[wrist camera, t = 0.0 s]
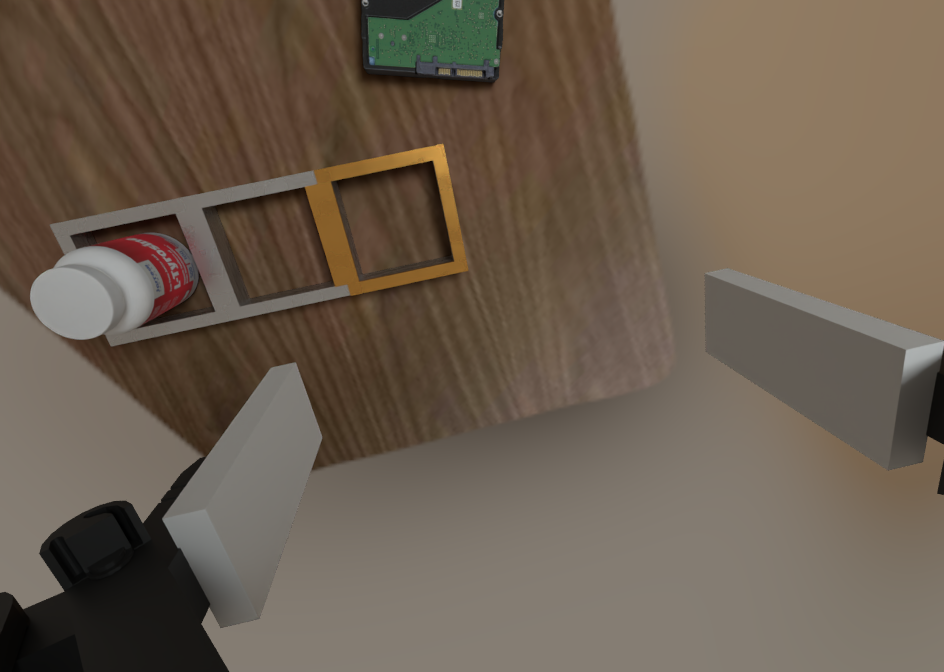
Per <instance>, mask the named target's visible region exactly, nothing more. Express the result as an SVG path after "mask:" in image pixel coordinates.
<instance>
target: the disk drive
mask: <svg viewBox="0 0 944 672" xmlns="http://www.w3.org/2000/svg"><path fill="white" fill-rule="evenodd" d="M361 10H362V16H361V17H362V18H361V30H362V32H361V36H362V40H363V66H364V69H365V71H366V72H367V73H368V74H377V75H392V76H406V77H421V78H426V77H428V78H438V79H449V80H465V81H480V82H495V81H496V80H497V79H498V78H499V65H500V52H501V49H502V41H503V14H504V13H503V12H504V11H503V10H504V0H361Z"/></svg>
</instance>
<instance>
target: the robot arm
mask: <svg viewBox="0 0 944 672" xmlns="http://www.w3.org/2000/svg"><path fill="white" fill-rule="evenodd" d="M705 332H706V334H705V335H706V352H707V353H708V354H710V355H711V356H713V357H714V358H716V359H718V360H719V361H721V362H722V363H724V364H725V365H727V366H728V367H730V368H732V369H733V370H734V371H736V372H738V373H739V374H741V375H742V376H744V377H745V378H747V379H748V380H750V381H751V382H753V383H754V384H756V385H758V386H759V387H761V388H762V389H764V390H765V391H767V392H768V393H770V394H772V395H773V396H774V397H776V398H778V399H779V400H781V401H782V402H784V403H785V404H787V405H788V406H790V407H791V408H793V409H794V410H796V411H797V412H799V413H800V414H802V415H804V416H805V417H807V418H808V419H810V420H812V421H813V422H814V423H816V424H817V425H819V426H821V427H822V428H824V429H825V430H827V431H828V432H830V433H831V434H833V435H834V436H836V437H837V438H839V439H840V440H842V441H844V442H845V443H847V444H848V445H850V446H851V447H853V448H854V449H856V450H857V451H859V452H861V453H862V454H864V455H865V456H867V457H868V458H870V459H871V460H873V461H875V462H876V463H877V464H879V465H880V466H882V467H883V468H885V469H887V470H892V469H896V468H901V467H905V466H909V465H913V464H917V463H922V462H923V459H924V453H925V448H926V442H927V437H928V436H929V437H931V438H933V439H934V440H936V441H938V442H940V443H942V444H944V340H941V339H938V338H935V337H932V336H929V335H926V334H922V333H920V332H917V331H913V330H910V329H908V328H905V327H902V326H899V325H895V324H893V323H889V322H887V321H884V320H881V319H878V318H875V317H871V316H869V315H866V314H863V313H860V312H857V311H854V310H851V309H848V308H845V307H842V306H839V305H836V304H833V303H830V302H827V301H824V300H821V299H818V298H815V297H812V296H809V295H806V294H803V293H800V292H797V291H794V290H791V289H788V288H785V287H782V286H779V285H776V284H773V283H770V282H767V281H764V280H761V279H758V278H755V277H752V276H749V275H746V274H743V273H740V272H737V271H734V270H731V269H728V268H727V269H722V270H718V271H713V272H708V273H705ZM321 441H322V435H321V432H320V429H319V426H318V424H317V421H316V418H315V415H314V412H313V410H312V407H311V404H310V401H309V398H308V396H307V393H306V390H305V387H304V384H303V382H302V379H301V376H300V373H299V370H298V368H297V365H296V362H295V363H291V364H286V365H281V366H277V367H272V368H270V370H269V371H268V373H267V374H266V375H265V377H264V378H263V380H262V381H261V382H260V384H259V385H258V387H257V388H256V389H255V391H254V392H253V393H252V395H251V396H250V398H249V399H248V400H247V402H246V403H245V405H244V406H243V407H242V409H241V410H240V411H239V413H238V414H237V416H236V417H235V418H234V420H233V421H232V423H231V424H230V425H229V427H228V428H227V430H226V431H225V432H224V434H223V435H222V436H221V438H220V439H219V441H218V442H217V443H216V445H215V446H214V448H213V449H212V450H211V452H210V453H209V454H208V456H207V457H203V458H200V459H198V460H197V461H196V462H195V463H193V464H192V465H191V466H190V467H189V468H187V469H186V470H185V471H183V473H181V474H180V476H179V477H178V478H177V480H176V481H175V483H174V484H173V485H172V486H171V490H169V491H168V492H167V493H166V494H165V495H164V497H163V498H162V499H161V503H158V505H157V506H156V507H155V508H154V510H153V511H152V512H151V514H150V515H149V516H148V518H147V519H146V520H145V522H144V523H142V522H141V520H140V518H139V516H138V514H137V513H136V511H135V509H134V507H133V505H132V504H131V503H129V502H127V501H113V502H109V503H106V504H103V505H99V506H97V507H94V508H92V509H90V510H88V511H85V512H83V513H81V514H80V515H78V516H76V517H75V518H73V519H71V520H70V521H68V522H66V523H65V524H63V525H62V526H61V527H60V528H58V529H57V530H56V531H55V532H53V533H52V534H51V535H50V536H49V537H48V539H47V540H46V541H45V542H44V543H43V544H42V546H41V550H40V553H39V554H40V555H41V557H42V558H43V560H44V561H45V563H46V564H47V566H48V567H49V568H50V570H51V572H52V573H53V574H54V576H55V578H56V579H57V581H58V582H59V583H60V585H61V586H62V588H63V589H64V591H65V592H63V593H60V594H58V595H56V596H53V597H51V598H49V599H46V600H44V601H42V602H39V603H37V604H35V605H32V606H30V607H28V608H25V609H22V607H21V606H20V605H19V603H18V602H17V601H16V599H15V598H14V597H13V595H11V594H9V593H6V592H2V593H0V672H229V671H228V669H227V667H226V665H225V664H224V662H223V660H222V659H221V657H220V655H219V654H218V652H217V650H216V648H215V647H214V645H213V643H212V642H211V640H210V638H209V636H208V635H207V633H206V631H205V630H204V628H203V626H202V625H201V623H202V621H203V619H204V617H205V615H206V613H207V610H208V608H209V607H210V609H211V611H212V612H213V614H214V616H215V618H216V620H217V622H218V624H219V626H220V628H223V627H227V626H232V625H236V624H240V623H244V622H249V621H253V620H257V619H259V618H260V616H261V612H262V610H263V607H264V604H265V601H266V598H267V595H268V592H269V590H270V587H271V584H272V581H273V578H274V575H275V573H276V570H277V567H278V564H279V561H280V558H281V555H282V552H283V549H284V547H285V544H286V541H287V538H288V535H289V532H290V529H291V526H292V524H293V520H294V518H295V515H296V512H297V509H298V507H299V504H300V501H301V498H302V495H303V492H304V489H305V486H306V484H307V481H308V478H309V475H310V472H311V469H312V466H313V463H314V461H315V458H316V455H317V452H318V449H319V446H320V443H321ZM938 494H942V495H944V462H943V467H942V472H941V477H940V482H939V487H938Z"/></svg>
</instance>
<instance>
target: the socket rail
mask: <svg viewBox="0 0 944 672" xmlns="http://www.w3.org/2000/svg"><path fill="white" fill-rule="evenodd" d="M428 161H432V162H433V166H434V171H435V176H436V181H437V186H438V190H439V195H440V200H441V205H442V210H443V214H444V219H445V224H446V229H447V234H448V238H449V243H450V248H451V253H452V256H447V257H442V258H438V259H433V260H428V261H424V262H419V263H414V264H410V265H405V266H400V267H396V268H391V269H386V270H382V271H377V272H372V273H367V274H363V273H362V269H361V266H360V262H359V259H358V255H357V252H356V248H355V244H354V241H353V237H352V234H351V230H350V227H349V223H348V219H347V216H346V212H345V209H344V205H343V202H342V198H341V195H340V191H339V187H338V184H337V180H340V179H345V178H350V177H355V176H360V175H365V174H370V173H374V172H379V171H384V170H389V169H394V168H399V167H404V166H408V165H413V164H418V163H423V162H428ZM302 187H305V189H306V193H307V196H308V199H309V203H310V206H311V209H312V212H313V216H314V219H315V222H316V226H317V229H318V232H319V235H320V239H321V242H322V245H323V248H324V252H325V255H326V258H327V262H328V265H329V268H330V271H331V275H332V278H333V281H330V282H325V283H321V284H316V285H311V286H306V287H302V288H297V289H292V290H288V291H283V292H278V293H274V294H269V295H264V296H260V297H255V298H249V295H248V292H247V290H246V287H245V284H244V282H243V279H242V276H241V274H240V271H239V268H238V266H237V263H236V260H235V258H234V255H233V252H232V250H231V247H230V244H229V242H228V239H227V236H226V234H225V231H224V228H223V226H222V223H221V220H220V218H219V215H218V212H217V210H216V207H215V205H219V204H224V203H229V202H234V201H238V200H243V199H248V198H253V197H258V196H263V195H268V194H272V193H277V192H282V191H287V190H292V189H297V188H302ZM170 214H176V216H177V218H178V221H179V223H180V226H181V228H182V231H183V233H184V236H185V238H186V241H187V243H188V245H189V248H190V250H191V253H192V255H193V258H194V260H195V263H196V265H197V268H198V270H199V273H200V275H201V277H202V280H203V282H204V285H205V287H206V290H207V292H208V295H209V297H210V300H211V302H212V304H213V307H208V308H203V309H199V310H194V311H189V312H184V313H180V314H175V315H170V316H166V317H161V318H156V319H152V320H150V321H149V322H147V323H145V324H143V325H141V326H140V327H138V328H136V329H134V330H132V331H129V332H126V333H123V334H117V335H105V336H106V338H107V340H108V342H109V344H110V346H116V345H120V344H125V343H130V342H134V341H139V340H144V339H148V338H153V337H158V336H162V335H167V334H172V333H176V332H181V331H186V330H190V329H195V328H200V327H204V326H209V325H214V324H218V323H223V322H228V321H232V320H237V319H242V318H246V317H251V316H256V315H260V314H265V313H270V312H274V311H279V310H284V309H288V308H293V307H298V306H302V305H307V304H312V303H316V302H321V301H326V300H330V299H335V298H340V297H344V296H349V295H351V296H353V295H357V294H362V293H367V292H371V291H376V290H381V289H385V288H390V287H395V286H399V285H404V284H409V283H413V282H418V281H423V280H427V279H432V278H437V277H441V276H446V275H451V274H455V273H460V272H465V271H468V266H467V261H466V256H465V251H464V246H463V241H462V235H461V230H460V225H459V220H458V215H457V210H456V205H455V200H454V195H453V190H452V185H451V180H450V175H449V170H448V165H447V160H446V155H445V150H444V145H443V144H441V145H436V146H431V147H426V148H421V149H416V150H411V151H406V152H401V153H397V154H392V155H387V156H382V157H377V158H372V159H367V160H362V161H358V162H353V163H348V164H343V165H338V166H333V167H328V168H323V169H318V170H314V171H309V172H304V173H300V174H295V175H290V176H285V177H280V178H275V179H270V180H265V181H260V182H256V183H251V184H246V185H241V186H236V187H231V188H226V189H221V190H216V191H212V192H207V193H202V194H197V195H192V196H187V197H182V198H177V199H173V200H168V201H163V202H158V203H153V204H148V205H143V206H138V207H133V208H129V209H124V210H119V211H114V212H109V213H104V214H99V215H94V216H90V217H85V218H80V219H75V220H70V221H65V222H60V223H55V224H50V227H51V229H52V231H53V233H54V235H55V237H56V239H57V241H58V243H59V245H60V246H61V248H62V250H63V252H64V254H65V255H66V254H67V253H69V252H71V251H73V250H76V249H79V248H83V247H86V246H91V245H95V244H97V243H96V240H95V238H94V236H93V234H92V232H91V231H93V230H98V229H102V228H107V227H112V226H117V225H122V224H127V223H132V222H136V221H141V220H146V219H151V218H156V217H161V216H166V215H170Z"/></svg>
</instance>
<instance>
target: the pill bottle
mask: <svg viewBox="0 0 944 672" xmlns="http://www.w3.org/2000/svg"><path fill="white" fill-rule="evenodd" d="M198 279H199V272H198V268H197V265H196V263H195V260H194V258H193V255H192V254H191V253H190V251H189V250H188V249H187V248H186V247H185V246H184V245H183V244H182V243H180V242H179V241H177V240H176V239H174V238H172V237H170V236H167V235H164V234H160V233H142V234H137V235H132V236H128V237H124V238H120V239H116V240H111V241H107V242H103V243H99V244H95V245H91V246H86V247H83V248H79V249H76V250H73V251H71V252H69V253H67V254H66V255H64V256H63V257H62V258H61V259H60V260H59V261H58V262H57V263H56V265H55V266H54V268H53V269H50V270H47V271H45V272H44V273H42V274H41V275H39V276H38V277H37V278H36V280H35V281H34V283H33V285H32V287H31V292H30V301H31V305H32V308H33V310H34V312H35V314H36V315H37V317H38V318H39V320H40V321H41V322H42V323H43V324H44V325H45V326H46V327H48V328H49V329H50V330H52V331H53V332H55V333H57V334H59V335H61V336H64V337H67V338H71V339H78V340H85V339H91V338H95V337H97V336H100V335H102V334H104V335H117V334H123V333H126V332H129V331H132V330H134V329H136V328H138V327H140V326H141V325H143V324H145V323H147V322H149V321H150V320H152V319H154V318H156V317H157V316H159V315H161V314H162V313H164V312H166V311H168V310H170V309H171V308H173V307H175V306H177V305H178V304H180V303H182V302H183V301H185V300H186V299H188V298H189V297H190V296H191V295H192V294H193V292H194V290H195V289H196V287H197V284H198Z"/></svg>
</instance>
